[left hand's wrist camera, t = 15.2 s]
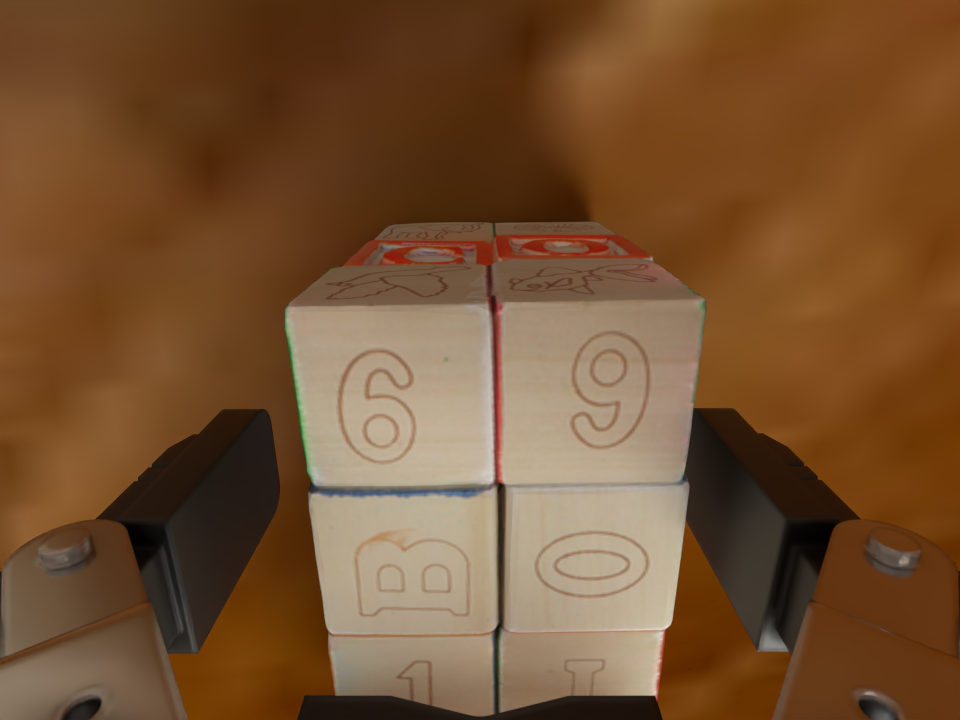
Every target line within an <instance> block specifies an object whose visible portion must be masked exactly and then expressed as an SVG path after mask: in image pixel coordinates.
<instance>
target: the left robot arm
mask: <svg viewBox="0 0 960 720" xmlns="http://www.w3.org/2000/svg"><path fill="white" fill-rule="evenodd" d="M684 473H685V475H686V477H687V479H688V481H689V485H690V489H689V497H688V504H687V512H686V521H687V523H688V525H689V527H690V528H691V530H692V532H693V534H694V536H695V538H696V539H697V541H698V543H699V545H700V547H701V549H702V550H703V552H704V554H705V556H706V558H707V560H708V561H709V563H710V565H711V567H712V569H713V571H714V572H715V574H716V576H717V578H718V580H719V581H720V583H721V585H722V587H723V589H724V591H725V592H726V594H727V596H728V598H729V600H730V602H731V603H732V605H733V607H734V609H735V611H736V613H737V614H738V616H739V618H740V620H741V622H742V624H743V625H744V627H745V629H746V631H747V633H748V635H749V636H750V638H751V640H752V642H753V644H754V645H755V647H756V649H757V651H789V652H790V654H791V655H792V658H791V661H790V664H789V667H788V670H787V674H786V677H785V680H784V683H783V687H782V690H781V693H780V696H779V700H778V703H777V706H776V709H775V713H774V716H773V719H772V720H960V571H958V569H957V566H956V564H955V563H954V561H953V560H952V558H951V557H950V556H949V555H948V554H947V553H946V552H945V551H944V550H943V549H941V548H940V547H939V546H937V545H936V544H934V543H933V542H931V541H930V540H928V539H926V538H924V537H922V536H921V535H919V534H917V533H914V532H912V531H910V530H907V529H905V528H902V527H899V526H896V525H892V524H889V523H885V522H880V521H874V520H861V519H860V518H859V517H858V516H857V515H856V514H855V513H854V512H853V511H852V510H851V509H850V508H849V507H848V506H847V505H846V504H845V503H844V502H843V501H842V500H841V499H840V498H839V497H838V496H837V495H836V494H835V493H834V492H833V491H832V490H831V489H830V488H829V487H828V486H827V485H826V484H825V483H824V482H823V481H822V480H818V478H817V477H818V476H817V475H816V474H814V473H813V472H812V471H811V470H810V469H809V468H808V467H807V466H804V463H803V462H802V461H801V460H800V459H799V458H798V457H797V456H796V455H795V454H794V453H793V452H792V451H791V450H790V449H789V448H788V447H787V446H785V445H783V444H781V443H779V442H777V441H776V440H774V439H772V438H770V437H768V436H767V435H765V434H763V433H757V432H756V431H755V430H754V429H753V428H752V427H751V426H750V425H749V424H748V423H747V422H746V421H745V420H744V419H743V418H742V417H741V415H740V414H739V413H738V412H737V411H736V410H734V409H732V408H693V416H692V426H691V434H690V441H689V449H688V455H687V461H686V467H685V471H684ZM279 493H280V482H279V474H278V467H277V460H276V453H275V446H274V438H273V431H272V424H271V419H270V416H269V414H268V412H267V411H266V410H265V409H224V410H222V411H221V412H220V413H219V414H218V415H217V416H216V417H215V418H214V419H213V420H212V421H211V422H210V423H209V424H208V425H207V426H206V427H205V428H204V429H203V430H202V431H201V432H200V433H199V434H193V435H192V436H190V437H188V438H186V439H184V440H182V441H181V442H179V443H177V444H175V445H173V446H171V447H170V448H168V449H167V450H166V451H165V452H164V453H163V454H162V455H161V456H160V457H159V458H158V459H157V460H156V461H155V462H154V463H153V464H152V467H149V468H148V469H147V470H146V471H145V472H143V473H142V474H141V475H140V476H139V477H138V481H134V482H133V483H132V484H131V485H130V486H129V487H128V488H127V489H126V490H125V491H124V492H123V493H122V494H121V495H120V496H119V497H118V498H117V499H116V500H115V501H114V502H113V503H112V504H111V505H110V506H109V507H108V508H107V509H106V510H105V511H104V512H103V513H102V514H101V515H100V516H98V517H97V518H96V519H95V520H86V521H80V522H75V523H71V524H68V525H64V526H61V527H58V528H55V529H53V530H50V531H48V532H46V533H43V534H41V535H39V536H38V537H36V538H34V539H32V540H30V541H29V542H27V543H26V544H24V545H23V546H21V547H20V548H19V549H17V550H16V551H15V552H14V553H13V554H12V555H11V556H10V557H9V558H8V560H7V561H6V563H5V564H4V566H3V569H2V572H0V720H188V719H187V716H186V713H185V709H184V706H183V703H182V700H181V696H180V693H179V690H178V687H177V683H176V680H175V677H174V674H173V670H172V667H171V664H170V661H169V658H168V654H167V653H198V652H199V650H200V648H201V647H202V645H203V643H204V641H205V639H206V638H207V636H208V634H209V632H210V630H211V629H212V627H213V625H214V623H215V621H216V620H217V618H218V616H219V614H220V612H221V610H222V609H223V607H224V605H225V603H226V601H227V600H228V598H229V596H230V594H231V592H232V591H233V589H234V587H235V585H236V583H237V582H238V580H239V578H240V576H241V574H242V573H243V571H244V569H245V567H246V565H247V564H248V562H249V560H250V558H251V556H252V554H253V553H254V551H255V549H256V547H257V545H258V544H259V542H260V540H261V538H262V536H263V535H264V533H265V531H266V529H267V527H268V526H269V524H270V522H271V520H272V518H273V517H274V515H275V512H276V510H277V506H278V501H279ZM297 720H663V719H662V716H661V713H660V709H659V706H658V703H657V700H656V697H655V696H565V697H561V698H557V699H553V700H549V701H545V702H541V703H537V704H533V705H529V706H525V707H521V708H517V709H513V710H509V711H505V712H501V713H497V714H493V715H488V716H472V715H467V714H463V713H459V712H455V711H451V710H447V709H443V708H439V707H435V706H431V705H427V704H423V703H419V702H415V701H411V700H407V699H403V698H399V697H395V696H305V697H304V700H303V703H302V706H301V709H300V713H299V716H298V719H297Z"/></svg>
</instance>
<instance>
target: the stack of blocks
mask: <svg viewBox="0 0 960 720" xmlns="http://www.w3.org/2000/svg"><path fill="white" fill-rule="evenodd" d="M705 315H706V303H705V299H704V298H703V297H701V296H700V295H699V294H697V293H696V292H694V291H693V290H692V289H690V288H689V287H688V286H687V285H685V284H684V283H682V282H681V281H680V280H678V279H677V278H675V277H674V276H673V275H671V274H670V273H668V272H667V271H666V270H665V269H663V268H662V267H661V266H659V265H657V264H655V263H654V262H653V257H652V256H651V255H650V254H648V253H647V252H645V251H644V250H642V249H641V248H639V247H638V246H636V245H635V244H633V243H631V242H630V241H628V240H627V239H625V238H624V237H621V236H619V235H617V234H616V233H614V232H612V231H610V230H609V229H607V228H605V227H604V226H602V225H600V224H599V223H597V222H522V223H486V222H439V223H411V224H398V225H391V226H388V227H387V228H385V229H384V230H383V231H382V232H381V233H380V234H379V235H378V236H377V237H376V238H375V239H374V240H372V241H369V242H367V243H366V244H365V245H364V246H363V247H362V248H361V249H360V250H359V251H358V252H357V253H355V254H354V255H353V256H352V257H351V258H350V259H349V260H348V261H347V262H346V263H345V264H344V265H343V266H342V267H336V268H331V269H330V270H329V271H328V272H327V273H326V274H324V275H323V276H322V277H321V278H320V279H318V280H317V281H316V282H314V283H313V284H312V285H311V286H309V287H308V288H307V289H306V290H305V291H304V292H302V293H301V294H300V295H299V296H297V297H296V298H295V299H294V300H292V301H291V302H290V303H289V305H288V306H287V307H286V309H285V332H286V337H287V342H288V348H289V355H290V362H291V369H292V376H293V382H294V389H295V395H296V401H297V408H298V415H299V424H300V432H301V438H302V444H303V450H304V455H305V459H306V466H307V472H308V474H309V477H310V479H311V481H312V482H311V485H310V489H309V492H308V504H309V513H310V519H311V526H312V533H313V540H314V547H315V555H316V561H317V568H318V574H319V580H320V586H321V592H322V598H323V607H324V617H325V622H326V627H327V629H328V631H329V634H328V654H329V657H330V664H331V672H332V678H333V685H334V691H335V696H395V697H399V698H403V699H407V700H411V701H415V702H419V703H423V704H427V705H431V706H435V707H439V708H443V709H447V710H451V711H455V712H459V713H463V714H467V715H472V716H488V715H493V714H497V713H501V712H505V711H509V710H513V709H517V708H521V707H525V706H529V705H533V704H537V703H541V702H545V701H549V700H553V699H557V698H561V697H565V696H655V697H656V700H657V698H658V690H659V682H660V674H661V667H662V659H663V652H664V644H665V629H666V628H667V627H669V626H670V625H671V622H672V618H673V610H674V603H675V596H676V588H677V581H678V574H679V566H680V559H681V551H682V543H683V535H684V528H685V520H686V512H687V504H688V497H689V489H690V485H689V481H688V479H687V477H686V475H685V473H684V471H685V467H686V461H687V455H688V449H689V441H690V434H691V426H692V416H693V408H694V401H695V394H696V388H697V381H698V370H699V360H700V355H701V348H702V340H703V331H704V323H705Z"/></svg>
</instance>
